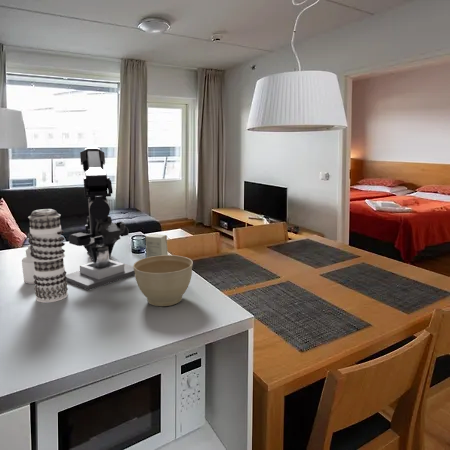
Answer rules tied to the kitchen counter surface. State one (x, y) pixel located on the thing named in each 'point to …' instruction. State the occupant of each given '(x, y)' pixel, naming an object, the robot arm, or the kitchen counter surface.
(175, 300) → the planter bowl
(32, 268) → the eye dropper bottle
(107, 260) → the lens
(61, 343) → the kitchen counter surface
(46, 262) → the white patterned cylinder
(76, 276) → the white tray on slab
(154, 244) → the skincare box
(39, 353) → the kitchen counter surface
